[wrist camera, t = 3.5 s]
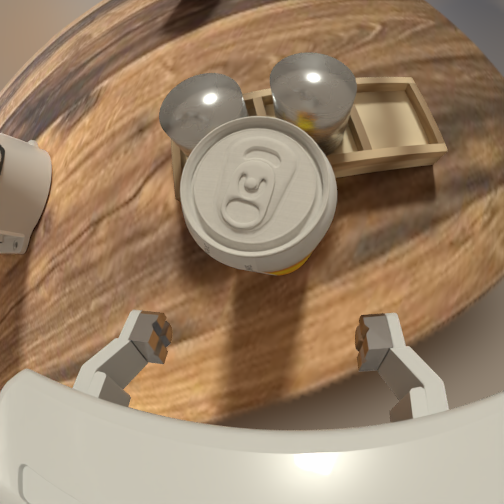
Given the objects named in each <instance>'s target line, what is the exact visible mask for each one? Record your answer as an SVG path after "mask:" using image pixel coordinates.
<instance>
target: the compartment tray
mask: <svg viewBox="0 0 504 504" xmlns="http://www.w3.org/2000/svg"><path fill="white" fill-rule="evenodd" d="M355 79H356V83H357V92H356V96H355V99H354V103H353V106H352V109H351V113H350V116H349V120H348V123H347V126H346V130H345V133H344V136H343V139H342V142H341V144H340V146H339V147H338V148H337V149H336V150H335V151H334V152H333V153H331V154H329V155H327V156H326V157H327V159H328V161H329V163H330V165H331V167H332V169H333V172H334V175H335V178H339V177H345V176H351V175H357V174H364V173H371V172H378V171H385V170H392V169H400V168H408V167H417V166H426V165H433V164H434V163H435V162H437V161H438V160H439V159H440V158H441V157H442V156H443V155H444V154H445V153H446V152H447V151H448V150H447V147H446V145H445V143H444V140H443V138H442V136H441V133H440V131H439V129H438V127H437V124H436V122H435V120H434V118H433V116H432V114H431V112H430V110H429V108H428V106H427V104H426V102H425V100H424V98H423V97H422V95H421V93H420V91H419V89H418V88H417V86H416V84H415V82H414V81H413V79H412V78H411V77H365V78H355ZM242 95H243V99H244V102H245V105H246V108H247V112H248V115H249V117H251V116H266V117H273V118H275V113H274V106H273V99H272V93H271V88H270V89H265V90H260V91H255V92H250V93H246V94H242ZM171 151H172V164H173V176H174V187H175V197H176V199H177V200H179V201H180V202H181V198H180V182H181V177H182V172H183V169H184V166H185V164H186V161H187V159H188V157H187V156H186V155H185V154H184V153H183V151H182V150H181V149H180V148H179V147H178V146H177V145H176V144H175V142H174V141H173V140H172V139H171Z"/></svg>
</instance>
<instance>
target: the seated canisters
mask: <svg viewBox="0 0 504 504" xmlns="http://www.w3.org/2000/svg"><path fill="white" fill-rule="evenodd" d="M270 86H271V93H272V99H273V106H274V113H275V118H278V119H281V120H284V121H287V122H289V123H292V124H293V125H295V126H297V127H299V128H300V129H302V130H303V131H305V132H306V133H307V134H308V135H309V136H310V137H311V138H312V139H313V140H314V141H315V142H316V143H317V145H318V146H319V148H320V149H321V150H322V151H323V153H324V154H325V156H327V155H329V154H331V153H333V152H334V151H335V150H336V149H337V148H338V147H339V146H340V144H341V142H342V139H343V136H344V133H345V130H346V126H347V123H348V120H349V116H350V113H351V109H352V106H353V103H354V99H355V96H356V92H357V83H356V79H355V77H354V75H353V73H352V72H351V71H350V69H349V68H348V67H347V66H345V65H344V64H343V63H342V62H340V61H338V60H337V59H335V58H332V57H330V56H327V55H323V54H319V53H299V54H294V55H291V56H288V57H286V58H284V59H282V60H281V61H280V62H278V63H277V64H276V65H275V67H274V68H273V70H272V72H271V74H270ZM243 117H249V115H248V112H247V108H246V105H245V102H244V99H243V95H242V92H241V89H240V87H239V85H238V84H237V83H236V82H235V81H234V80H233V79H231V78H230V77H228V76H225V75H222V74H217V73H206V74H200V75H196V76H193V77H191V78H189V79H186V80H185V81H183V82H181V83H180V84H178V85H177V86H176V87H175V88H173V89H172V90H171V91H170V92H169V94H168V95H167V96H166V98H165V99H164V101H163V103H162V105H161V108H160V113H159V120H160V124H161V126H162V129H163V130H164V131H165V132H166V134H167V135H168V136H169V137H170V138H171V139H172V140H173V141H174V142H175V144H176V145H177V146H178V147H179V148H180V149H181V150H182V151H183V153H184V154H185V155H186V156H187V157H189V156H190V154H191V152H192V151H193V149H194V148H195V147H196V145H197V144H198V143H199V142H200V141H201V140H202V139H203V138H204V137H205V136H206V135H207V134H209V133H210V132H211V131H213V130H214V129H216V128H217V127H219V126H221V125H223V124H225V123H227V122H230V121H232V120H235V119H239V118H243Z"/></svg>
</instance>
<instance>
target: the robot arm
mask: <svg viewBox="0 0 504 504" xmlns="http://www.w3.org/2000/svg"><path fill="white" fill-rule="evenodd" d="M51 174H52V165H51V159H50V156H49V154H48V153H47V152H46V151H45V150H43V149H40V148H39V147H38V144H37V142H36V141H33V140H30V141H29V142H28V143H27V142H24V141H21V140H19V139H16V138H13V137H11V136H8V135H5V134H2V133H0V254H24V253H25V252H26V249H27V246H28V243H29V239H30V236H31V233H32V231H33V229H34V227H35V226H36V224H37V222H38V220H39V218H40V216H41V214H42V211H43V209H44V206H45V203H46V200H47V197H48V193H49V188H50V183H51ZM166 318H167V317H166V316H165V314H164V313H160V312H150V311H142V310H132V311H131V312H130V314H129V316H128V318H127V321H126V323H125V325H124V327H123V329H122V332H121V334H120V336H119V338H115V339H114V340H113V341H112V342H111V343H109V344H108V345H107V346H106V347H104V348H103V349H102V350H101V351H99V352H98V353H97V354H96V355H94V356H93V357H92V358H91V359H90V360H88V361H87V362H86V363H85V364H83V365H82V367H81V369H80V372H79V374H78V376H77V379H76V381H75V384H74V386H73V388H70V387H68V386H66V385H63V384H61V383H58V382H56V381H54V380H52V379H49V378H47V377H45V376H43V375H41V374H39V373H37V372H35V371H33V370H30V369H24V370H22V371H20V372H19V373H18V374H16V375H15V376H14V377H12V378H11V379H10V380H9V381H7V383H6V384H5V385H4V387H3V388H2V390H1V392H0V504H504V391H502V392H499V393H497V394H494V395H492V396H489V397H486V398H484V399H481V400H478V401H475V402H472V403H469V404H466V405H463V406H460V407H457V408H453V409H450V410H449V408H448V402H447V397H446V392H445V388H444V383H443V381H442V380H441V379H440V378H439V377H438V376H437V374H436V373H435V372H434V371H433V370H432V369H431V368H430V367H429V366H428V365H427V364H426V363H425V362H424V361H423V360H422V359H421V358H420V357H419V356H418V355H417V354H416V353H415V352H414V351H413V350H412V349H411V348H410V347H409V346H406V345H405V341H404V337H403V333H402V329H401V325H400V322H399V318H398V315H397V314H396V313H387V314H384V313H382V314H369V315H361V316H360V318H359V326H357V328H356V332H355V347H356V349H357V350H358V351H359V353H358V356H357V363H358V371H373V370H378V373H379V374H380V375H381V377H382V378H383V379H384V381H385V382H386V384H387V385H388V386H389V388H390V389H391V390H392V392H393V393H394V394H395V396H396V397H397V399H398V400H399V402H398V403H397V404H396V405H395V406H394V407H393V408H392V409H391V411H390V423H386V424H379V425H371V426H364V427H354V428H342V429H328V430H264V429H248V428H236V427H227V426H219V425H211V424H204V423H198V422H191V421H186V420H180V419H175V418H170V417H165V416H161V415H157V414H152V413H148V412H144V411H140V410H136V409H133V408H129V407H128V405H129V402H130V399H131V397H130V395H129V394H128V393H126V392H125V391H124V390H123V389H124V388H125V387H126V386H127V385H128V384H129V383H130V381H131V380H132V379H133V378H134V377H135V376H136V375H137V374H138V373H139V372H140V371H141V370H142V369H143V368H144V367H145V366H146V365H147V364H148V362H151V363H158V364H164V363H165V359H166V356H167V353H168V351H167V348H166V347H167V346H168V345H169V344H171V341H172V334H173V331H172V327H171V325H170V323H168V322H167V321H165V320H166Z"/></svg>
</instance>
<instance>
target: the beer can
mask: <svg viewBox="0 0 504 504" xmlns="http://www.w3.org/2000/svg"><path fill="white" fill-rule="evenodd" d="M180 198H181V204H182V211H183V216H184V219H185V222H186V225H187V228H188V230H189V232H190V234H191V235H192V237H193V239H194V240H195V241H196V243H197V244H198V245H199V246H200V247H201V248H202V249H203V250H204V251H205V252H206V253H207V254H208V255H210V256H211V257H212V258H214V259H216V260H217V261H219V262H221V263H223V264H225V265H228V266H230V267H233V268H237V269H241V270H247V271H252V272H258V273H263V274H269V275H285V274H289V273H291V272H293V271H295V270H297V269H298V268H300V267H301V266H302V265H303V264H304V263H305V262H306V260H307V259H308V258H309V256H310V255H311V254H312V252H313V251H314V249H315V248H316V247H317V245H318V244H319V242H320V241H321V240H322V238H323V237H324V235H325V234H326V232H327V230H328V229H329V227H330V224H331V222H332V220H333V217H334V213H335V210H336V204H337V185H336V179H335V175H334V172H333V169H332V167H331V165H330V163H329V161H328V159H327V157H326V156H325V154H324V153H323V151H322V150H321V149H320V148H319V146H318V145H317V143H316V142H315V141H314V140H313V139H312V138H311V137H310V136H309V135H308V134H307V133H306V132H305V131H303V130H302V129H300V128H299V127H297V126H295V125H293V124H292V123H289V122H287V121H284V120H281V119H278V118H273V117H266V116H251V117H243V118H239V119H235V120H232V121H230V122H227V123H225V124H223V125H221V126H219V127H217V128H216V129H214V130H213V131H211V132H210V133H209V134H207V135H206V136H205V137H204V138H203V139H202V140H201V141H200V142H199V143H198V144H197V145H196V147H195V148H194V149H193V151H192V152H191V154H190V156H189V157H188V159H187V161H186V164H185V166H184V169H183V172H182V177H181V182H180Z"/></svg>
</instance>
